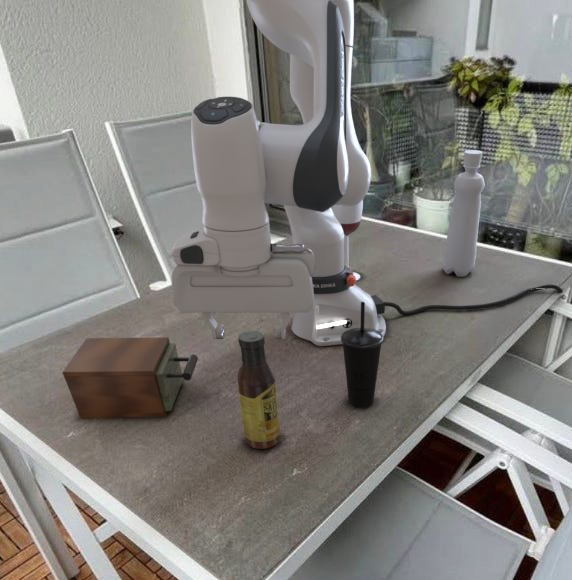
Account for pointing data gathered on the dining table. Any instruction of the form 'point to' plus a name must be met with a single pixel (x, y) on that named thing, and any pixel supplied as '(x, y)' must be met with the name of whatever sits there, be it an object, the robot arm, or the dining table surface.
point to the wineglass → (349, 224)
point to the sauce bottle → (257, 393)
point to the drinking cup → (361, 362)
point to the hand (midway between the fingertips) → (249, 337)
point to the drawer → (173, 374)
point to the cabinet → (117, 377)
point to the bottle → (464, 218)
